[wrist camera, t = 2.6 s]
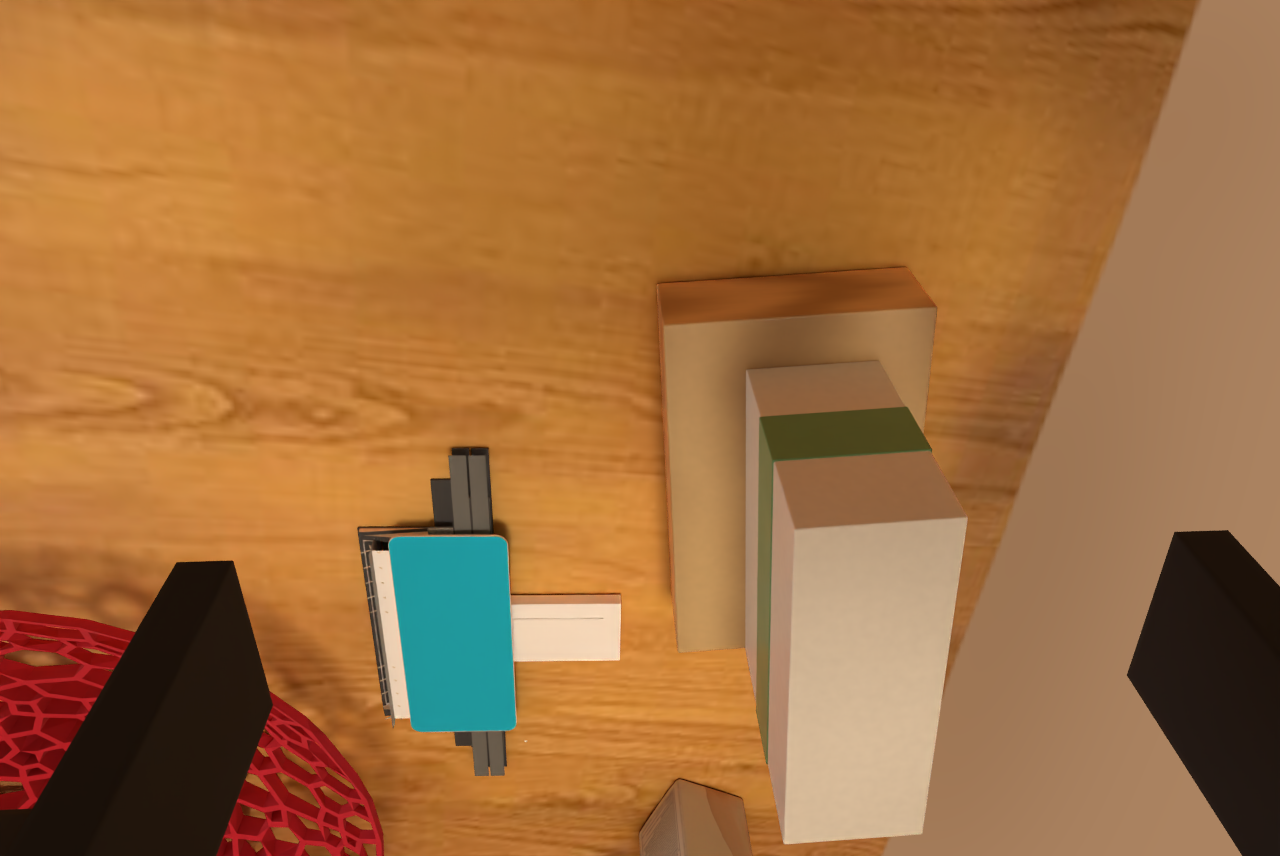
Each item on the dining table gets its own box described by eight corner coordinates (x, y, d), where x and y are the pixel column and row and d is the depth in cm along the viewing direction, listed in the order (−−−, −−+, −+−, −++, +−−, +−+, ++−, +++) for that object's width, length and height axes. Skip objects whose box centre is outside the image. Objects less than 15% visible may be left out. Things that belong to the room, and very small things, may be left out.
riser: (907, 266, 39) (938, 306, 36) (878, 579, 47) (901, 637, 44) (656, 283, 39) (663, 325, 36) (671, 594, 47) (677, 653, 44)
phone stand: (616, 763, 53) (617, 788, 52) (392, 767, 52) (386, 792, 51) (624, 447, 43) (625, 468, 41) (346, 447, 42) (337, 468, 41)
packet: (744, 367, 37) (792, 528, 28) (880, 358, 37) (970, 516, 28) (744, 649, 44) (782, 846, 35) (857, 641, 44) (924, 835, 35)
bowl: (465, 894, 58) (455, 978, 54) (-8, 968, 60) (-54, 1056, 55) (282, 489, 43) (248, 561, 39) (-342, 603, 45) (-441, 684, 40)
